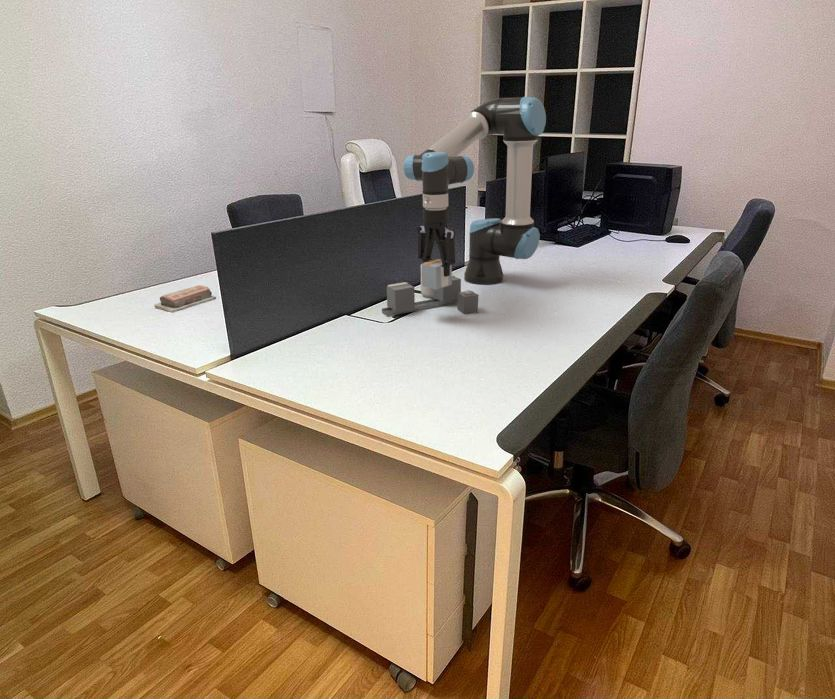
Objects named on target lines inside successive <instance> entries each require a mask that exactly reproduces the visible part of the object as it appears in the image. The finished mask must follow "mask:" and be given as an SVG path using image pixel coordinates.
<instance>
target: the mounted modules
mask: <svg viewBox="0 0 835 699" xmlns="http://www.w3.org/2000/svg"><path fill="white" fill-rule="evenodd" d="M458 292H462V278H460V277H457V276H455V274H454V275H453V274H452V285H449V286H446V287H443V288H440V289H437V290H435V289H434V298H433V299H435V298H436V299H438V300H440V301H442V302H447V301H452V300H458ZM415 302H416V299H415V286H413V285H411V284H409V283H408V282H406V281H405V282H397V283H391V284H387V285H386V305H387V306H386V307H389V308H391V309H393V310H394V311H400V310H405V309H410V308H415Z"/></svg>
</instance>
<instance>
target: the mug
mask: <svg viewBox="0 0 835 699" xmlns="http://www.w3.org/2000/svg"><path fill="white" fill-rule="evenodd" d="M422 264H423V263H421V264H420V293H421V295H422V297H424V298H426V299H427V298H428V299H435V298H434V289H431V288H428V287H424V286H422Z"/></svg>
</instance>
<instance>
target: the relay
mask: <svg viewBox="0 0 835 699" xmlns="http://www.w3.org/2000/svg"><path fill="white" fill-rule="evenodd" d="M457 310H458V312H460V313H461V314H463V315H469V314H478V313H479V294H478V293H477V292H474V291H473V290H470V289H469V290H467V289H466V290H464V291H461V292H458V303H457Z"/></svg>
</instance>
